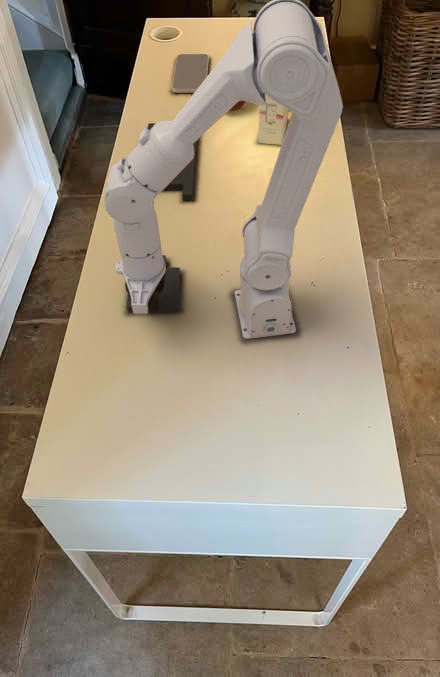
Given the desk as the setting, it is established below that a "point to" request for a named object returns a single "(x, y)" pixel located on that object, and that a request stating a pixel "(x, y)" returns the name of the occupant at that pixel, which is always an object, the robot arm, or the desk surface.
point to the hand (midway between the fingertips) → (151, 307)
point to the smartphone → (189, 72)
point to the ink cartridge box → (272, 122)
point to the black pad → (183, 176)
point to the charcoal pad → (166, 292)
